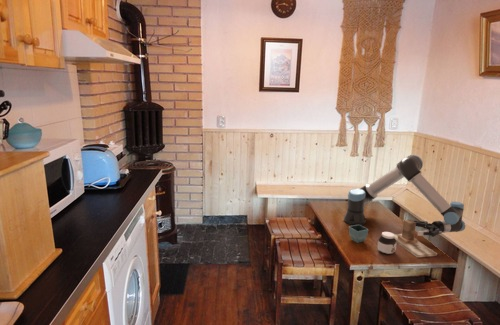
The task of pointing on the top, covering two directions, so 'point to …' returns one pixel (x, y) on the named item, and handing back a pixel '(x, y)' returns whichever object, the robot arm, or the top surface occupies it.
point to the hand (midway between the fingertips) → (410, 228)
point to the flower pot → (358, 233)
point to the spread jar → (387, 243)
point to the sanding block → (408, 232)
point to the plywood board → (416, 248)
